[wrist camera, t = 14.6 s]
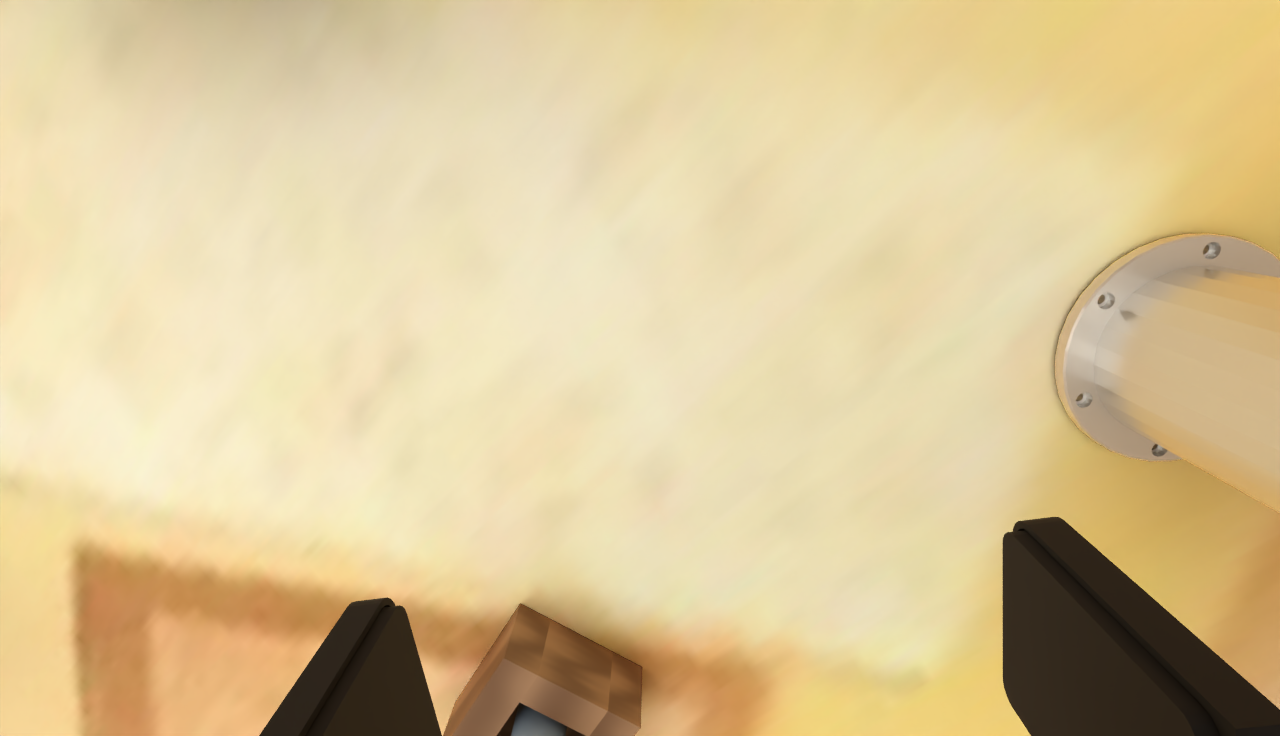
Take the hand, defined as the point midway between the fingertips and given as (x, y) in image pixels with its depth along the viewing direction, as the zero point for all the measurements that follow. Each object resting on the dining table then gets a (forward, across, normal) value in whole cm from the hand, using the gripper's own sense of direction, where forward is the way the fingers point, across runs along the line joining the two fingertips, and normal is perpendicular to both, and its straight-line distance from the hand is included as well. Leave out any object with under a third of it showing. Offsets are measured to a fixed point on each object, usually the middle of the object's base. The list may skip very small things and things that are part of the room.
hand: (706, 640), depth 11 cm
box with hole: (+28, +11, +24) cm, 39 cm away
